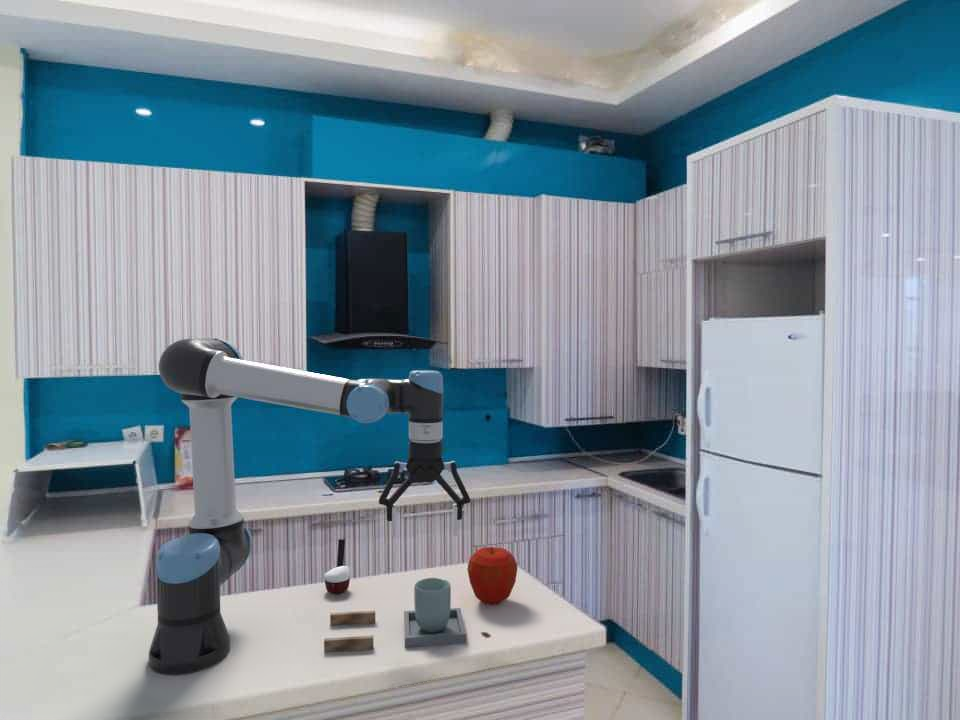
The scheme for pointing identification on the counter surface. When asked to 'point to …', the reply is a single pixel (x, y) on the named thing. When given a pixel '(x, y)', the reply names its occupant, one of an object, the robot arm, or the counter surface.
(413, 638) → the dock cradle
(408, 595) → the counter surface
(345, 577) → the cocoa
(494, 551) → the apple
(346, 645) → the dock rails
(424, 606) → the cup
